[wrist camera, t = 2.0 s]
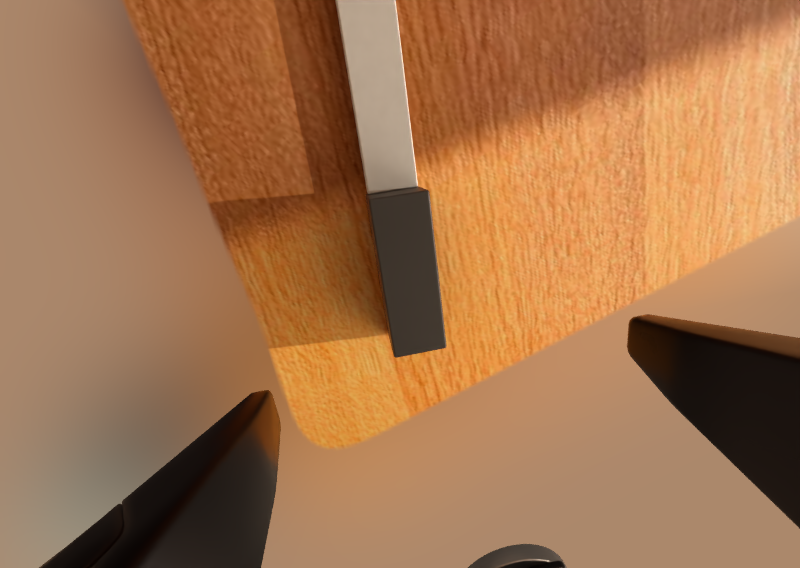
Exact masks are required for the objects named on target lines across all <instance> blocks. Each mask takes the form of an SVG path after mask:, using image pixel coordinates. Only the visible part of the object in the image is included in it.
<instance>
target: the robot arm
mask: <svg viewBox="0 0 800 568" xmlns="http://www.w3.org/2000/svg"><path fill="white" fill-rule="evenodd" d="M627 348H628V352H629V354H630V356H631V357H632V358H633V360H634V361H635V362H636V363H637V364H638V365H639V367H640V368H641V369H642V370H643V371H644V372H645V374H646V375H647V376H648V377H649V378H650V379H651V381H652V382H653V383H654V384H655V385H656V386H657V387H658V389H659V390H660V391H661V392H662V393H663V395H664V396H665V397H666V398H667V399H668V400H669V401H670V402H671V404H673V405H674V406H675V408H676V409H678V411H680V413H681V414H682V415H683V416H685V417H686V418H687V419H688V420H689V421H690V422H691V423H692V424H693V425H694V426H695V427H696V428H697V429H698V430H699V431H700V432H701V433H702V434H703V435H704V436H705V437H706V438H707V439H708V440H709V441H710V442H711V443H712V444H713V445H714V446H715V447H716V448H717V449H719V450H720V451H721V452H722V453H723V454H724V455H725V456H726V457H727V458H728V459H729V460H730V461H731V462H732V463H733V464H734V465H735V466H736V467H737V468H738V469H739V470H740V471H741V472H742V473H744V475H745V476H746V477H747V478H748V479H749V480H751V482H752V483H753V484H755V485H756V486H757V487H758V488H759V489H760V490H761V491H762V492H763V493H764V494H765V495H766V496H767V497H768V498H769V499H770V500H771V501H772V502H773V503H774V504H775V505H776V506H777V507H778V508H779V509H780V510H781V511H782V512H783V513H785V514H786V516H787V517H788V518H789V519H791V520H792V521H793V522H794V523H795V524H796V525H797V526H798V527H799V528H800V338H796V337H789V336H783V335H777V334H771V333H764V332H758V331H751V330H745V329H739V328H731V327H726V326H719V325H713V324H706V323H699V322H693V321H687V320H681V319H674V318H668V317H662V316H655V315H642V316H637V317H633V318H632V319H631V320H630V322H629V329H628V343H627ZM280 431H281V426H280V419H279V415H278V412H277V409H276V405H275V402H274V399H273V395H272V393H271V392H270V391H269V390H264V391H259V392H255V393H251V394H250V395H249V396H248V397H247V398H245V399H244V400H243V401H242V402H240V403H239V404H238V405H237V406H236V407H234V408H233V409H232V410H231V411H230V412H228V413H227V414H226V415H225V416H224V417H222V418H221V419H220V420H219V421H218V422H216V423H215V424H214V425H213V426H212V427H210V428H209V429H208V430H207V431H206V432H204V433H203V434H202V435H201V436H200V437H198V438H197V439H196V440H195V441H194V442H192V443H191V444H190V445H189V446H188V447H186V448H185V449H184V450H183V451H182V452H181V453H179V454H178V455H177V456H176V457H174V458H173V459H172V460H171V461H170V462H168V463H167V464H166V465H165V466H164V467H162V468H161V469H160V470H159V471H158V472H156V473H155V474H154V475H153V476H152V477H150V478H149V479H148V480H147V481H146V482H144V483H143V484H142V485H141V486H140V487H138V488H137V489H136V490H135V491H134V492H132V493H131V494H130V495H129V496H128V497H127V498H125V499H124V500H123V501H122V504H118V505H117V506H115V507H114V508H113V509H112V510H111V511H109V512H108V513H107V514H106V515H105V516H104V517H102V518H101V519H100V520H99V521H98V522H96V523H95V524H94V525H93V526H91V527H90V528H89V529H88V530H86V531H85V532H84V533H83V534H81V535H80V536H79V537H78V538H76V539H75V540H74V541H73V542H72V543H70V544H69V545H68V546H67V547H65V548H64V549H63V550H62V551H60V552H59V553H57V554H56V555H55V556H54V557H52V558H51V559H50V560H48V561H47V562H46V563H45V564H43V565H42V566H41V567H39V568H261V564H262V560H263V554H264V549H265V544H266V539H267V534H268V529H269V524H270V519H271V514H272V508H273V503H274V498H275V492H276V482H277V470H278V457H279V444H280ZM530 568H566V567H565V565H564V563H563V562H562V561H553V562H549V563H546V564H542V565H538V566H534V567H530Z"/></svg>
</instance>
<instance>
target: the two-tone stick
mask: <svg viewBox="0 0 800 568" xmlns="http://www.w3.org/2000/svg"><path fill="white" fill-rule="evenodd" d="M335 2H336V8H337V14H338V20H339V26H340V32H341V38H342V44H343V50H344V56H345V62H346V68H347V74H348V80H349V86H350V92H351V98H352V104H353V110H354V117H355V123H356V129H357V135H358V141H359V147H360V153H361V159H362V165H363V171H364V177H365V183H366V189H367V193H368V194H366V196H365V197H366V203H367V209H368V215H369V221H370V227H371V233H372V239H373V245H374V251H375V256H376V262H377V268H378V274H379V280H380V286H381V292H382V298H383V304H384V310H385V316H386V322H387V328H388V334H389V338H390V342H391V346H392V350H393V354H394V357H402V356H407V355H412V354H417V353H422V352H427V351H432V350H437V349H442V348H446V338H445V329H444V320H443V311H442V302H441V293H440V284H439V275H438V266H437V257H436V248H435V239H434V230H433V221H432V212H431V203H430V194H429V191H428V190H426V189H423V188H421V187H418V182H417V174H416V166H415V158H414V149H413V141H412V133H411V124H410V116H409V108H408V100H407V91H406V83H405V75H404V66H403V58H402V50H401V42H400V33H399V25H398V17H397V8H396V0H335Z"/></svg>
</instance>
